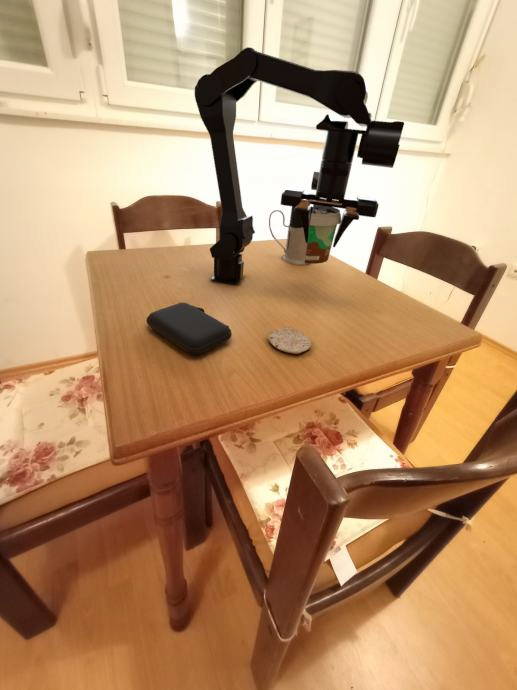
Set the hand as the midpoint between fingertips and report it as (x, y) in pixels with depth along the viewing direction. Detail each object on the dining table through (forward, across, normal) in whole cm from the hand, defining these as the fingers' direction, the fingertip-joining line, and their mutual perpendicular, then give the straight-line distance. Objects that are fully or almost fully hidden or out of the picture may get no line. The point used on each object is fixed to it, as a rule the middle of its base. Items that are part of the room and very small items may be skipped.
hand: (320, 244), depth 67 cm
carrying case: (+13, +20, +24) cm, 34 cm away
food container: (+3, 0, 0) cm, 3 cm away
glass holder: (+13, +9, -25) cm, 30 cm away
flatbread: (+12, +2, +22) cm, 25 cm away
